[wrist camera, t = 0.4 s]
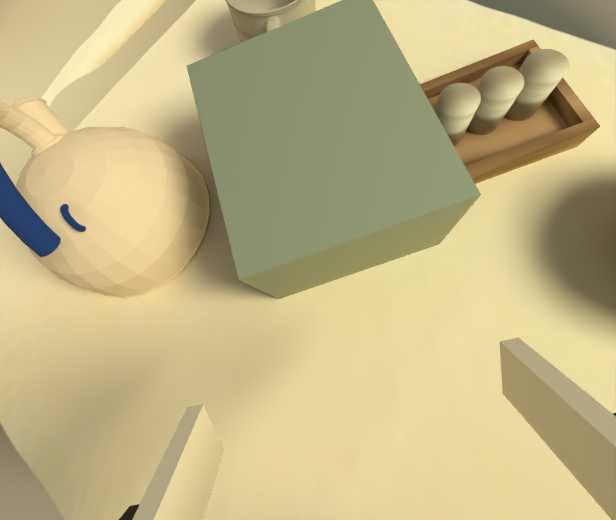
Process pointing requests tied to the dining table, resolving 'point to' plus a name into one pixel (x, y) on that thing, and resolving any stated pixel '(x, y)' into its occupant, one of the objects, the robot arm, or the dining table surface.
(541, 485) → the dining table surface
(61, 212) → the kettle
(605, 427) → the robot arm
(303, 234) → the sage green box
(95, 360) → the dining table surface
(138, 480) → the dining table surface
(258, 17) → the teacup
